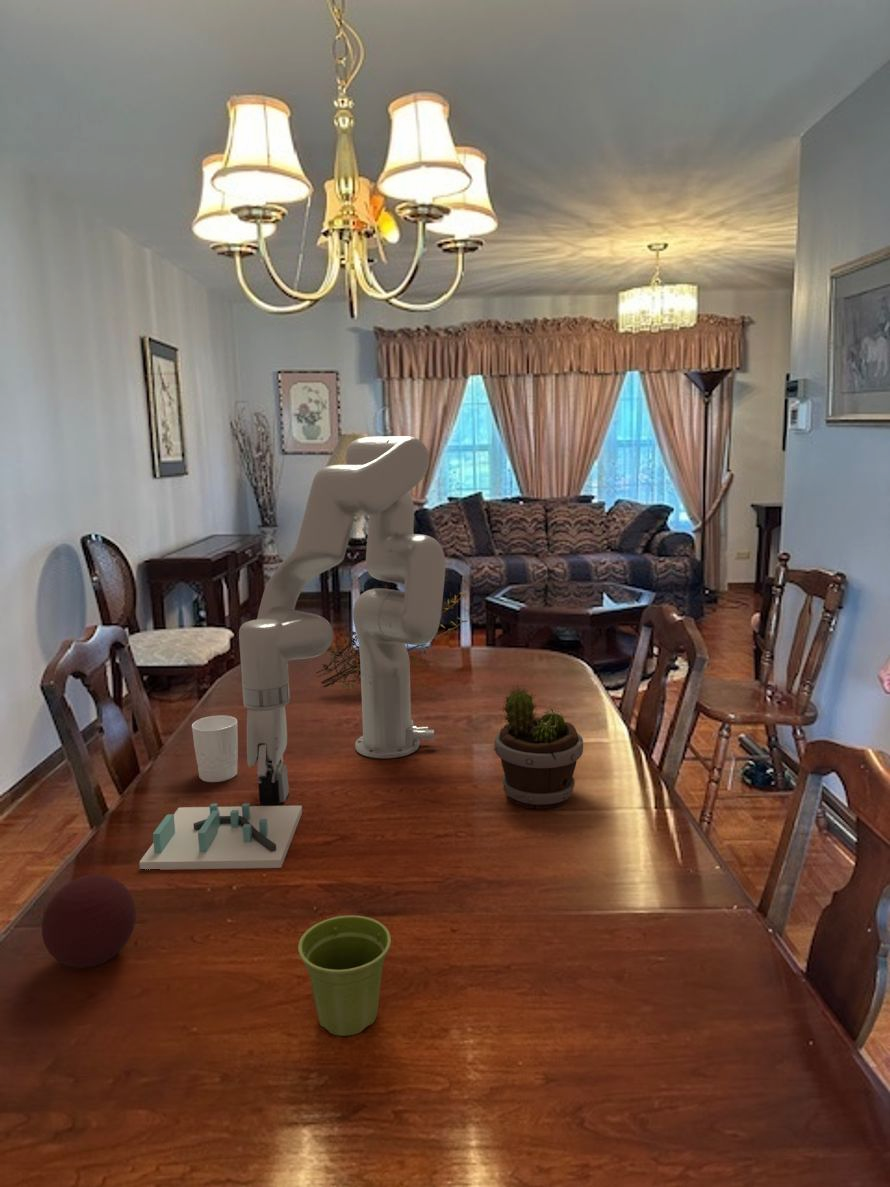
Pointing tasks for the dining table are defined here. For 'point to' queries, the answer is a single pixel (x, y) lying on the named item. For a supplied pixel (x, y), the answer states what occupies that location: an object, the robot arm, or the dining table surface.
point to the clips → (235, 821)
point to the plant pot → (345, 970)
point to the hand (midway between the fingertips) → (272, 796)
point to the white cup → (216, 747)
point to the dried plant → (359, 655)
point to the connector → (282, 781)
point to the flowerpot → (536, 754)
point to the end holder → (168, 830)
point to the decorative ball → (88, 921)
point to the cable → (242, 821)
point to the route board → (226, 841)
